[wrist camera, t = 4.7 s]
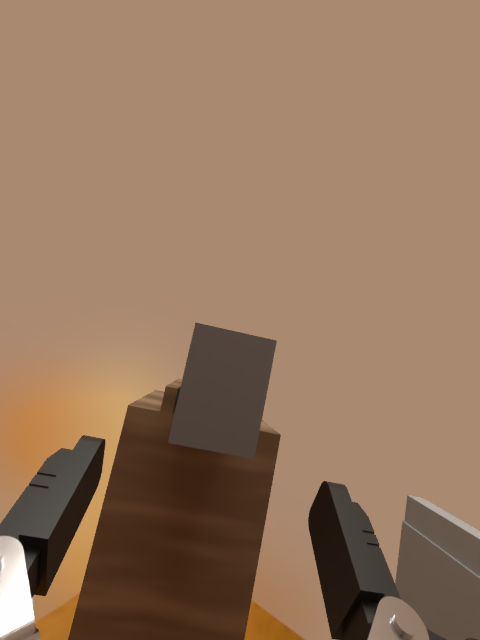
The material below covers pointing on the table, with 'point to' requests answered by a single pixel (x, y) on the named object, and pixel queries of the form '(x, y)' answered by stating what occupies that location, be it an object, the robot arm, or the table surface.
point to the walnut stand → (175, 534)
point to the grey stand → (440, 570)
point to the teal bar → (223, 391)
